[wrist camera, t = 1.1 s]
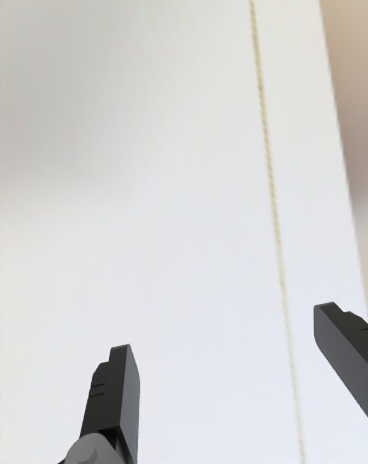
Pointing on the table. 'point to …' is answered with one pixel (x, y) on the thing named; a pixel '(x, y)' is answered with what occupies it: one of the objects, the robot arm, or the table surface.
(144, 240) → the table surface
